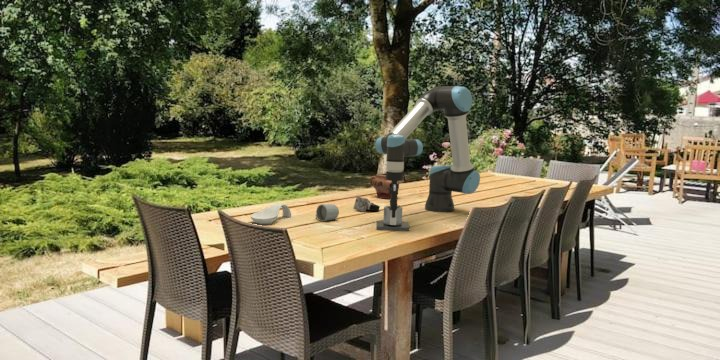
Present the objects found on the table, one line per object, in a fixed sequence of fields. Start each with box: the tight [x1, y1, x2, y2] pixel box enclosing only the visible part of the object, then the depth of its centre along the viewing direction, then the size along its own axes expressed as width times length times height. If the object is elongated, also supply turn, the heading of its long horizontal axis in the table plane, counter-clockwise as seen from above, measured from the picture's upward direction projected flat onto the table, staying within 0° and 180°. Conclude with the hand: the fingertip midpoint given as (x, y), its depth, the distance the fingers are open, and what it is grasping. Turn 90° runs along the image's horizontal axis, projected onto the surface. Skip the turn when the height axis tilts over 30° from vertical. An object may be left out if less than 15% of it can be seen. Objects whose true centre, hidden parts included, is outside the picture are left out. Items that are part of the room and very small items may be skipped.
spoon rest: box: [250, 203, 292, 225], centre depth 254 cm, size 24×12×7 cm, turn 153°
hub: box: [382, 205, 403, 225], centre depth 247 cm, size 8×8×7 cm
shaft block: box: [376, 220, 410, 232], centre depth 248 cm, size 14×12×8 cm
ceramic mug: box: [315, 203, 340, 222], centre depth 260 cm, size 11×8×8 cm
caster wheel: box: [353, 195, 381, 213], centre depth 286 cm, size 7×11×10 cm
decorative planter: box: [369, 172, 400, 199], centre depth 329 cm, size 20×12×14 cm, turn 58°
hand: (392, 222), depth 248 cm, fingers closed on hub, 8 cm apart
